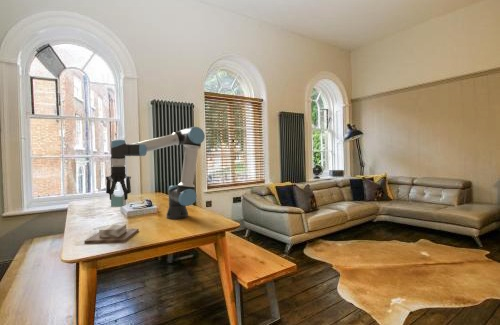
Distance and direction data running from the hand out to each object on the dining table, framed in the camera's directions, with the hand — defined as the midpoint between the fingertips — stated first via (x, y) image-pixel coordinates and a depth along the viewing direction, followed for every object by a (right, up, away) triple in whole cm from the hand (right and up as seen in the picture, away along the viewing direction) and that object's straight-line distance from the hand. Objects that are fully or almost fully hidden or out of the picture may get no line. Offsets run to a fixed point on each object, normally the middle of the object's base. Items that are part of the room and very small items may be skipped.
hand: (118, 205), depth 156 cm
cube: (0, 0, 0) cm, 0 cm away
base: (+2, -16, -10) cm, 19 cm away
